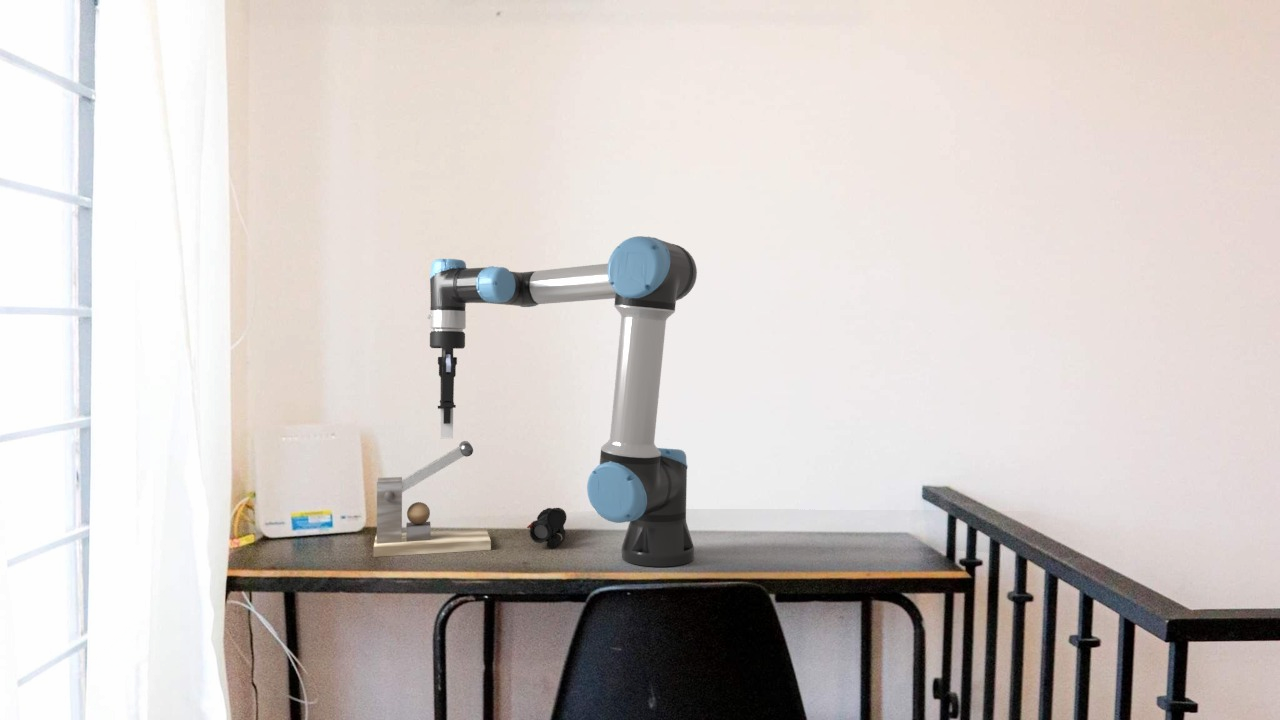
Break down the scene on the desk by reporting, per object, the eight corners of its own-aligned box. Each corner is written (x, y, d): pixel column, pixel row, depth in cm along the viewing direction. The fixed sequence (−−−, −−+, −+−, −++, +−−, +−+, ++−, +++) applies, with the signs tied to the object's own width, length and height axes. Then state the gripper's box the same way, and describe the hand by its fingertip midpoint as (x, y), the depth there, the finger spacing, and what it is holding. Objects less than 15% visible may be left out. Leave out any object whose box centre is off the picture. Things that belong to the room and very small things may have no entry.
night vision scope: (556, 542, 190) (588, 517, 189) (535, 563, 172) (570, 535, 171) (536, 516, 190) (567, 490, 189) (513, 534, 173) (547, 506, 172)
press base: (490, 549, 173) (491, 480, 172) (373, 556, 166) (373, 484, 166) (485, 537, 184) (486, 472, 184) (375, 543, 178) (376, 475, 177)
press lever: (475, 452, 174) (469, 442, 174) (388, 504, 169) (381, 493, 169) (472, 448, 181) (467, 438, 180) (389, 498, 176) (382, 488, 175)
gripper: (429, 330, 181) (428, 435, 181) (430, 329, 168) (429, 441, 168) (463, 331, 183) (462, 434, 183) (467, 330, 170) (465, 441, 171)
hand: (446, 438), depth 176 cm, fingers closed
